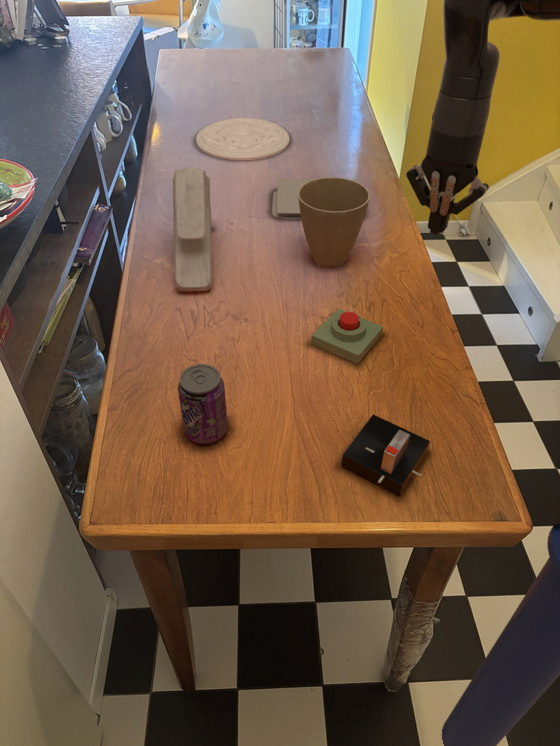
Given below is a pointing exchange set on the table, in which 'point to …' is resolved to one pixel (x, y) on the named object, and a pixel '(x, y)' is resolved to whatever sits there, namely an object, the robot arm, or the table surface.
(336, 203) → the plant pot
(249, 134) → the ceiling medallion
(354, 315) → the button
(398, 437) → the rotary knob
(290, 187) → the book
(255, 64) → the table surface
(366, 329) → the switch
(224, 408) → the beverage can
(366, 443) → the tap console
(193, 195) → the leaning slabs
